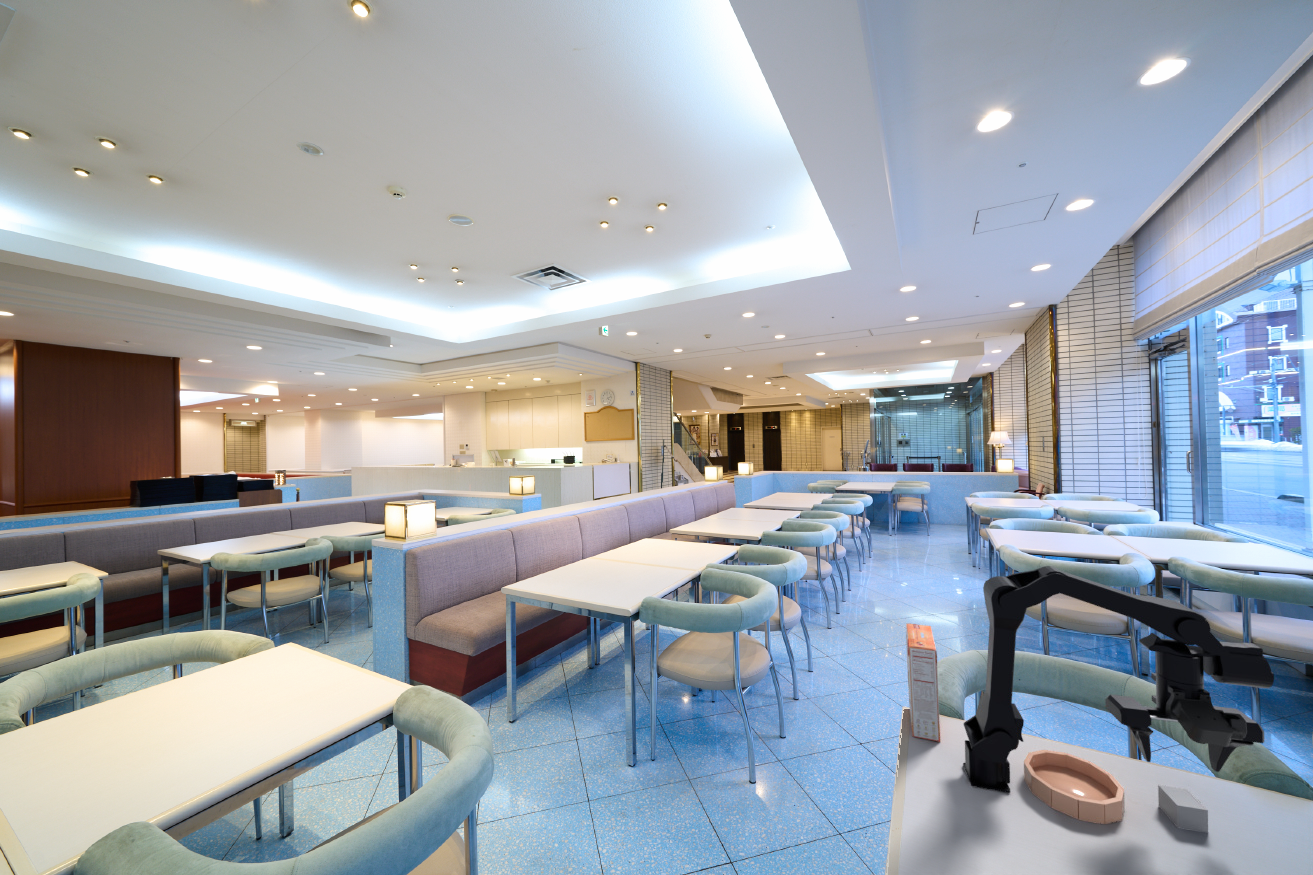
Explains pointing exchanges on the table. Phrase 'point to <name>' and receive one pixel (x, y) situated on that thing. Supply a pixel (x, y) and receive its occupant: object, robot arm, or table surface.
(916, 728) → the cracker box
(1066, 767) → the bowl
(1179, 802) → the grey rectangular prism
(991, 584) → the robot arm
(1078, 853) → the table surface
